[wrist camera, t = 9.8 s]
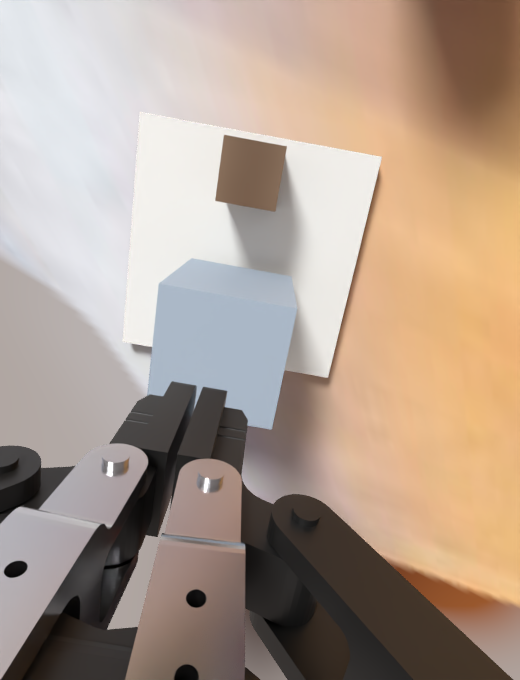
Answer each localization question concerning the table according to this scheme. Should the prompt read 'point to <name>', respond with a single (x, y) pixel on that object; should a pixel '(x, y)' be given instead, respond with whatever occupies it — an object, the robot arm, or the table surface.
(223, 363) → the pastel blue cube
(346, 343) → the table surface
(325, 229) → the board
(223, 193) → the short post
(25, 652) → the robot arm
